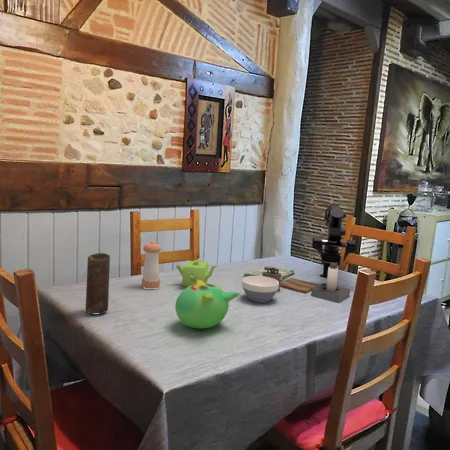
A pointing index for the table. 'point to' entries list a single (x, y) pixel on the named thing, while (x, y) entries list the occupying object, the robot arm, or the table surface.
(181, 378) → the table surface
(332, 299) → the housing
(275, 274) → the lighter
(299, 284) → the board
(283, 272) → the dish towel
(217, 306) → the toy bird
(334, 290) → the white bottle
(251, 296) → the bowl
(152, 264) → the pepper shaker
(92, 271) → the candle
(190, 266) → the kettle
